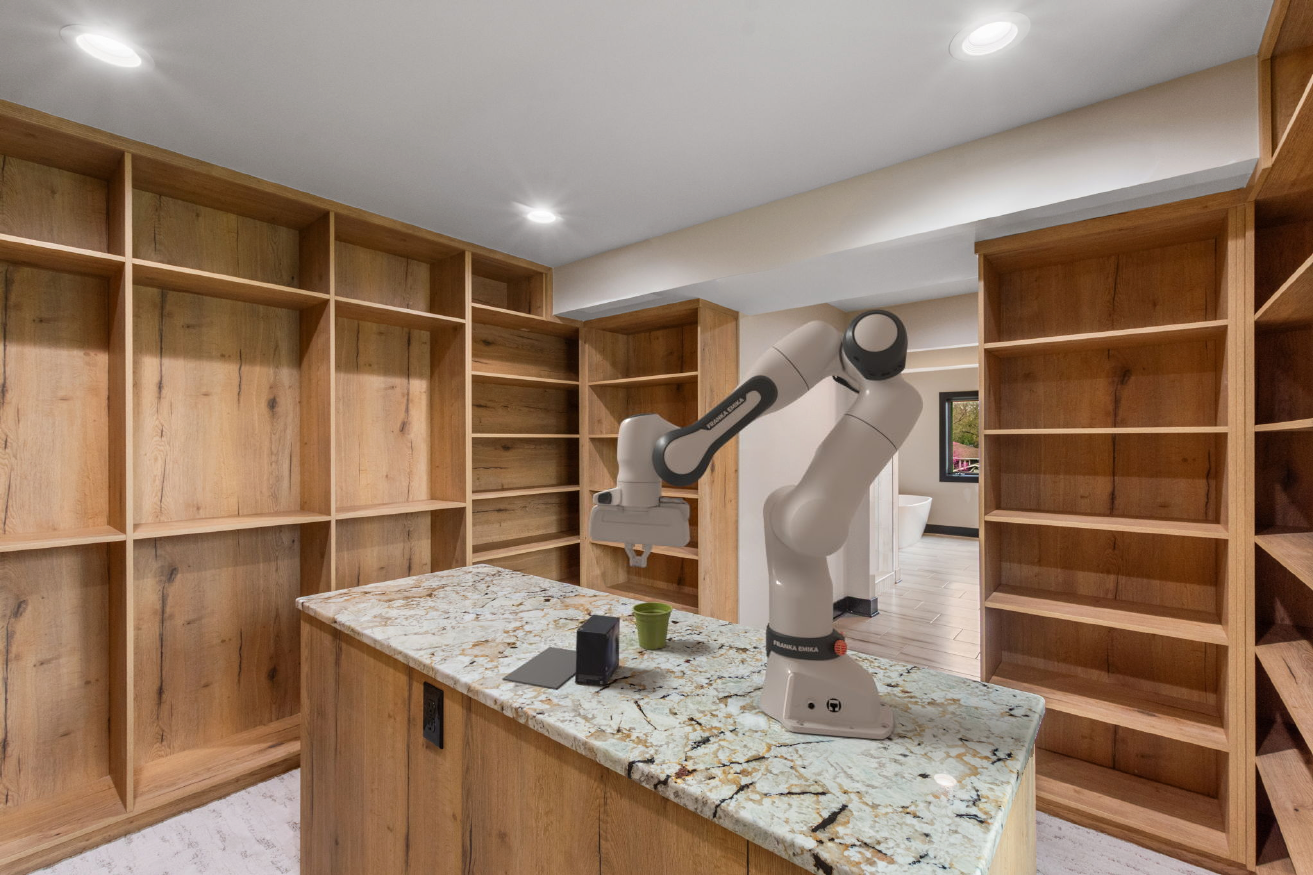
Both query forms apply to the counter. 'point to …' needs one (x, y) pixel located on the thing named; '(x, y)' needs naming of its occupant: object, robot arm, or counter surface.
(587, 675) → the small box
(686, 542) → the robot arm
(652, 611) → the plant pot
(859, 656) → the counter surface
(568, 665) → the mat
